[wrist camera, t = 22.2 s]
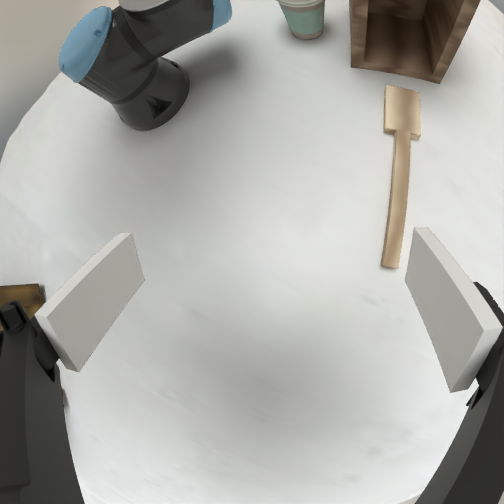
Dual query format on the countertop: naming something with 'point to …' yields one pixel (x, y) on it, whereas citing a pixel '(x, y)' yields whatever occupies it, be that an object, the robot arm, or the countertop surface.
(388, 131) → the beige long flat part
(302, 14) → the coffee cup
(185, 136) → the countertop surface
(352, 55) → the walnut shelf
